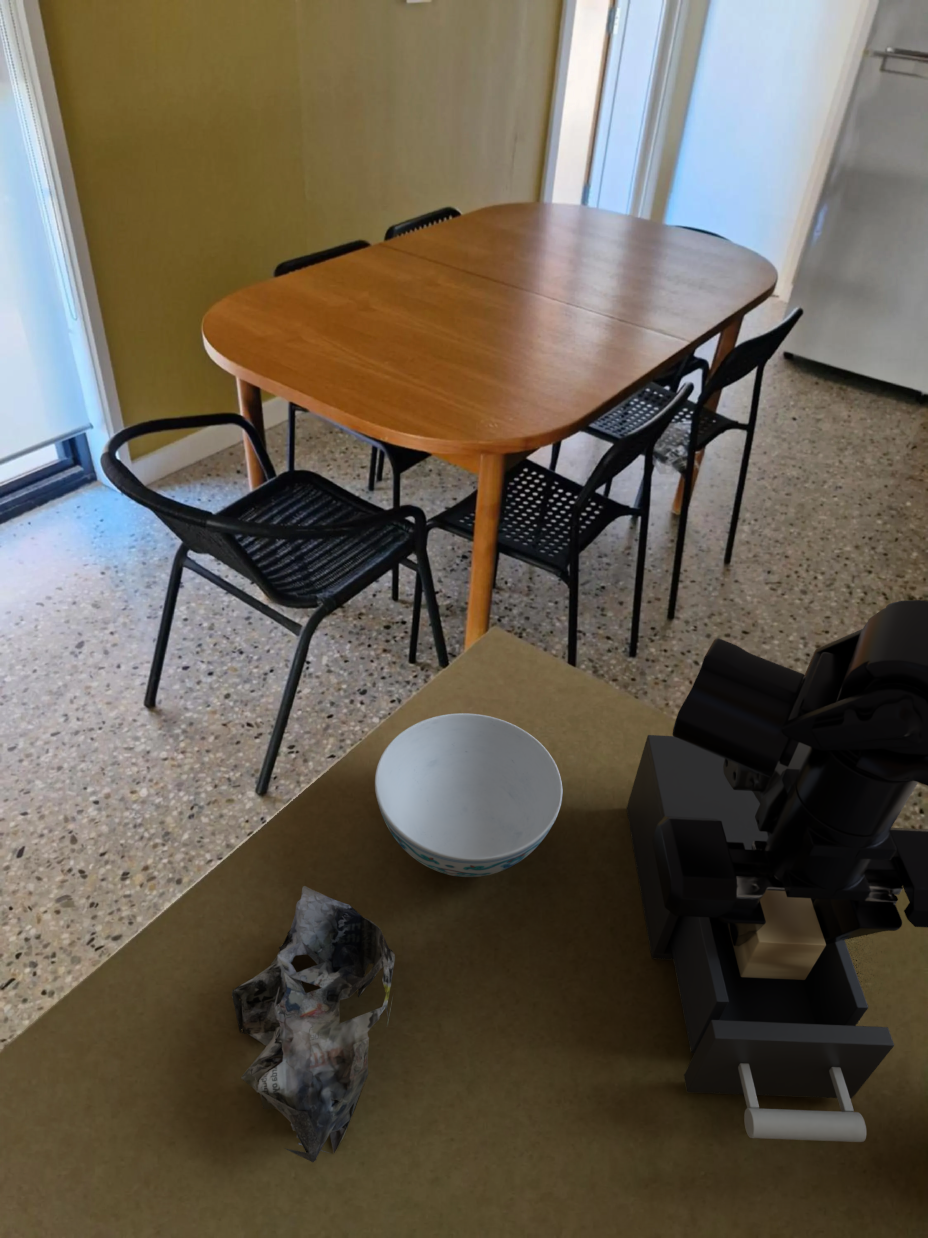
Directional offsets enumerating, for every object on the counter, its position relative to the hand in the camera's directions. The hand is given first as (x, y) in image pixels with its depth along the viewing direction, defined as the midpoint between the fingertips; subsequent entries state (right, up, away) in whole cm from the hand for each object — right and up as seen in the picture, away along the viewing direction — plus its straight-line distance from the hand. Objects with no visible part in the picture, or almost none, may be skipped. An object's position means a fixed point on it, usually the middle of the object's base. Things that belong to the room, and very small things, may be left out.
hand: (769, 941), depth 62 cm
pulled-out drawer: (0, -7, +2) cm, 7 cm away
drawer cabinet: (0, 0, +13) cm, 13 cm away
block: (0, -1, +1) cm, 1 cm away
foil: (-31, -7, +1) cm, 32 cm away
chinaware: (-21, +3, +14) cm, 26 cm away
